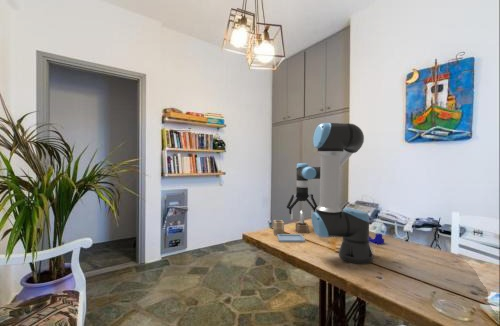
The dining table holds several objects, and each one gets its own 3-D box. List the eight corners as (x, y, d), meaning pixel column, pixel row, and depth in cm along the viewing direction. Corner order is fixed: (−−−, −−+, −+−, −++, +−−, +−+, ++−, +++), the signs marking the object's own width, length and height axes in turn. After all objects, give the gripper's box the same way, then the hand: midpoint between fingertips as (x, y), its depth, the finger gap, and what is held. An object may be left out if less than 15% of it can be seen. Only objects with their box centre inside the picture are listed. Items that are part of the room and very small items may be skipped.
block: (283, 235, 149) (284, 222, 149) (274, 235, 149) (274, 222, 149) (282, 232, 155) (282, 220, 155) (273, 232, 155) (273, 220, 155)
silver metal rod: (304, 232, 156) (304, 210, 156) (300, 232, 156) (300, 210, 156) (303, 231, 159) (303, 209, 159) (299, 231, 159) (299, 209, 159)
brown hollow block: (308, 233, 154) (308, 225, 154) (297, 233, 154) (297, 225, 154) (305, 230, 161) (306, 222, 161) (295, 230, 161) (295, 222, 161)
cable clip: (384, 244, 134) (384, 234, 134) (378, 245, 132) (378, 234, 132) (366, 238, 145) (366, 228, 145) (360, 239, 144) (361, 229, 144)
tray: (305, 242, 137) (305, 240, 137) (279, 242, 137) (279, 240, 137) (301, 236, 148) (301, 234, 148) (277, 236, 148) (277, 234, 148)
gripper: (319, 186, 161) (319, 217, 161) (282, 186, 161) (282, 217, 161) (323, 187, 153) (322, 220, 154) (284, 187, 153) (283, 220, 153)
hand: (302, 219), depth 157 cm, fingers open, 13 cm apart
